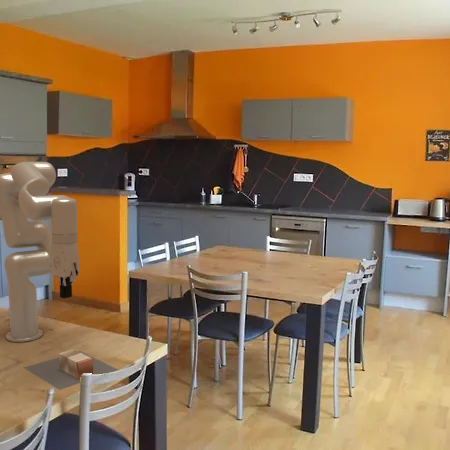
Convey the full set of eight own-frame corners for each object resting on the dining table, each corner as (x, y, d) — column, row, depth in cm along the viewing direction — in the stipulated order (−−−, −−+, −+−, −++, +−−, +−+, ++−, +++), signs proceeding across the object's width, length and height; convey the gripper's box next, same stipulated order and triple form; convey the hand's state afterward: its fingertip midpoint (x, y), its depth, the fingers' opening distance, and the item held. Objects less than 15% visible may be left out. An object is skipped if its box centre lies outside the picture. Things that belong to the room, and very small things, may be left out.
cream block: (58, 353, 166) (78, 363, 158) (73, 349, 170) (92, 358, 162) (59, 368, 167) (78, 379, 159) (73, 364, 170) (93, 374, 163)
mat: (23, 369, 167) (23, 367, 167) (80, 352, 181) (80, 350, 181) (59, 391, 152) (59, 389, 152) (118, 371, 167) (118, 369, 166)
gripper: (41, 236, 164) (42, 294, 167) (66, 243, 154) (67, 305, 157) (63, 234, 170) (64, 290, 172) (89, 240, 160) (90, 300, 162)
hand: (66, 297), depth 165 cm, fingers closed
